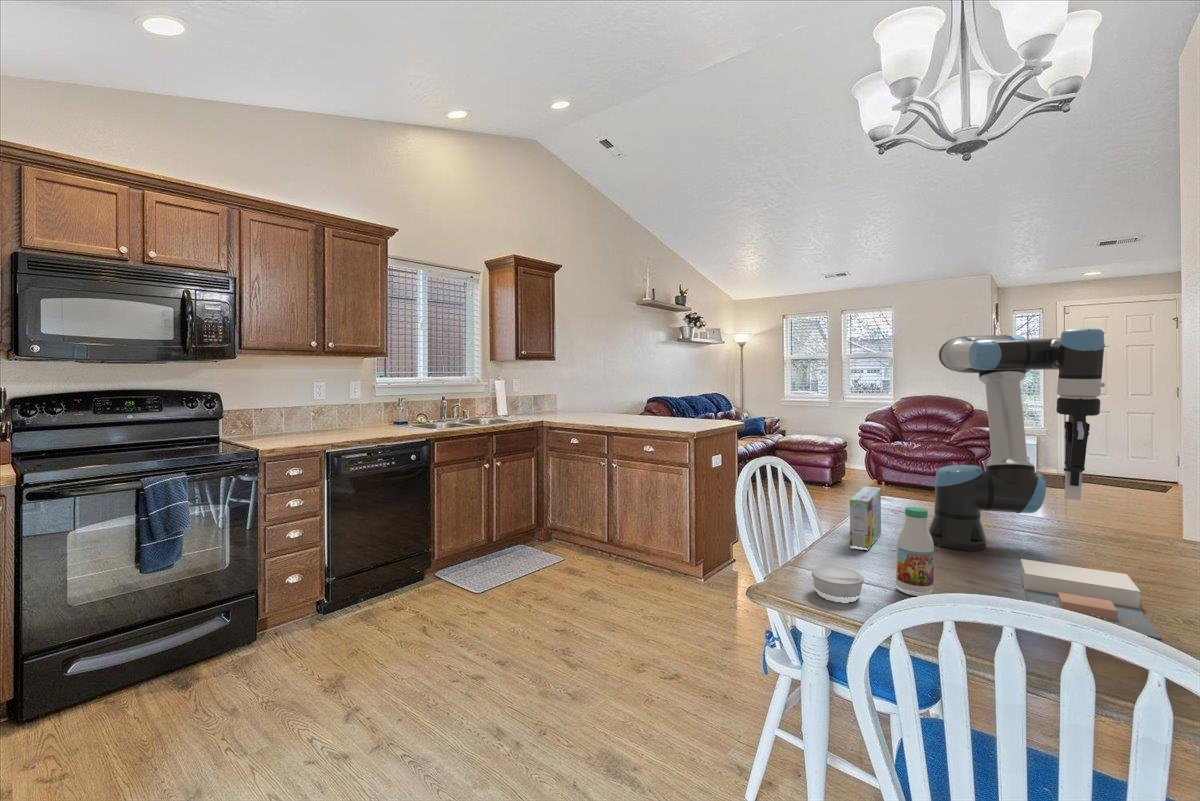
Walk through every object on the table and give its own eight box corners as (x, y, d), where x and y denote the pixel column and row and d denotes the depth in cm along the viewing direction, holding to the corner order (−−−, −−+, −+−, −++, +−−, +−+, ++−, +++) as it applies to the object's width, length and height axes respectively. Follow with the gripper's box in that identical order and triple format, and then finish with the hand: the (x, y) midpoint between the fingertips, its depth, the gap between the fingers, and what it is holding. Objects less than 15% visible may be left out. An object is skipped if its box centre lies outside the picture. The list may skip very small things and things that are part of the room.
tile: (1057, 591, 125) (1057, 600, 125) (1061, 601, 120) (1061, 610, 120) (1111, 600, 120) (1110, 609, 120) (1117, 611, 115) (1117, 620, 115)
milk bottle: (888, 586, 135) (890, 505, 134) (918, 584, 136) (921, 504, 135) (909, 599, 127) (911, 513, 126) (940, 597, 128) (943, 512, 127)
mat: (1031, 615, 119) (1031, 613, 119) (1024, 590, 132) (1024, 588, 132) (1161, 639, 108) (1161, 638, 108) (1139, 609, 121) (1139, 608, 121)
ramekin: (838, 609, 122) (838, 586, 122) (800, 591, 133) (801, 569, 132) (874, 600, 127) (874, 578, 127) (835, 583, 137) (836, 562, 137)
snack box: (862, 531, 180) (863, 485, 179) (881, 534, 177) (882, 487, 176) (848, 549, 163) (849, 498, 162) (869, 552, 160) (870, 500, 159)
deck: (1024, 590, 132) (1025, 573, 132) (1020, 574, 142) (1020, 558, 142) (1139, 609, 121) (1140, 591, 121) (1126, 590, 131) (1126, 574, 131)
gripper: (1106, 400, 119) (1099, 507, 121) (1094, 395, 130) (1088, 494, 132) (1061, 398, 123) (1055, 503, 125) (1053, 394, 134) (1048, 490, 136)
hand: (1072, 498), depth 128 cm, fingers closed
